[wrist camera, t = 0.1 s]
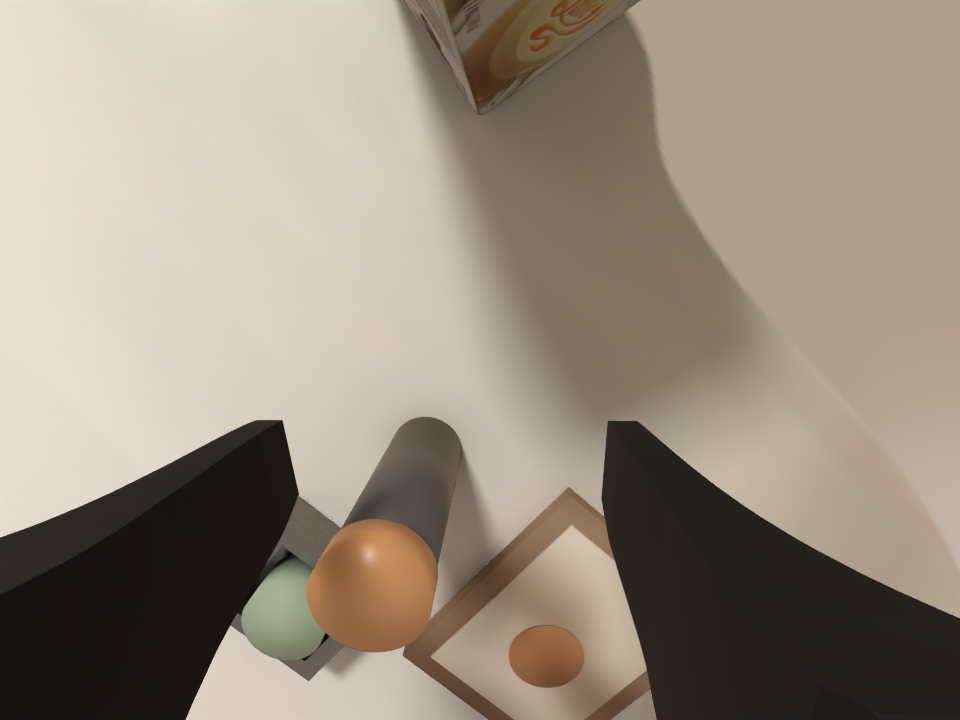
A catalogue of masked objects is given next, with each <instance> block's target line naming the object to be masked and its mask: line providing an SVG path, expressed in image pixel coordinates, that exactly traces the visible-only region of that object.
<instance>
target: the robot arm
mask: <svg viewBox="0 0 960 720" xmlns="http://www.w3.org/2000/svg"><path fill="white" fill-rule="evenodd" d="M298 495H299V493H298V488H297V484H296V479H295V475H294V470H293V466H292V461H291V457H290V452H289V448H288V443H287V439H286V434H285V430H284V425H283V421H282V420H256V421H253V422H251V423H248V424H246V425H244V426H241V427H239V428H237V429H235V430H233V431H231V432H229V433H227V434H225V435H223V436H221V437H219V438H217V439H215V440H214V441H212V442H210V443H208V444H206V445H204V446H202V447H200V448H198V449H196V450H195V451H193V452H191V453H189V454H187V455H185V456H183V457H181V458H179V459H178V460H176V461H174V462H172V463H170V464H168V465H166V466H164V467H162V468H160V469H158V470H156V471H154V472H152V473H150V474H148V475H146V476H144V477H142V478H140V479H138V480H136V481H134V482H132V483H130V484H128V485H126V486H124V487H122V488H120V489H118V490H116V491H114V492H112V493H109V494H107V495H105V496H103V497H101V498H99V499H96V500H94V501H92V502H90V503H87V504H85V505H83V506H80V507H78V508H76V509H73V510H71V511H68V512H66V513H64V514H61V515H59V516H56V517H54V518H52V519H49V520H47V521H44V522H42V523H39V524H37V525H34V526H31V527H29V528H26V529H23V530H20V531H18V532H15V533H12V534H9V535H6V536H4V537H1V538H0V720H186V717H187V715H188V713H189V710H190V708H191V706H192V703H193V701H194V699H195V697H196V694H197V692H198V690H199V688H200V686H201V684H202V681H203V679H204V677H205V675H206V673H207V671H208V668H209V666H210V664H211V662H212V660H213V658H214V655H215V653H216V651H217V649H218V647H219V645H220V643H221V642H222V640H223V638H224V636H225V634H226V632H227V630H228V628H229V627H230V625H231V623H232V622H233V620H234V618H235V616H236V615H237V613H238V611H239V610H240V608H241V606H242V604H243V603H244V601H245V599H246V598H247V596H248V594H249V592H250V591H251V589H252V587H253V586H254V584H255V582H256V580H257V579H258V577H259V575H260V574H261V572H262V570H263V568H264V567H265V565H266V563H267V561H268V560H269V558H270V556H271V554H272V553H273V551H274V549H275V547H276V546H277V544H278V542H279V540H280V538H281V537H282V535H283V533H284V530H285V528H286V526H287V523H288V521H289V519H290V516H291V514H292V511H293V508H294V506H295V503H296V501H297V498H298ZM602 504H603V510H604V516H605V522H606V528H607V533H608V539H609V543H610V546H611V550H612V553H613V556H614V560H615V563H616V566H617V570H618V573H619V576H620V580H621V583H622V586H623V589H624V593H625V596H626V599H627V602H628V606H629V609H630V612H631V615H632V619H633V622H634V625H635V628H636V632H637V635H638V638H639V642H640V645H641V649H642V653H643V657H644V661H645V664H646V669H647V674H648V678H649V683H650V688H651V693H652V698H653V703H654V708H655V713H656V717H657V720H960V618H958V617H955V616H953V615H950V614H948V613H946V612H944V611H941V610H939V609H937V608H935V607H932V606H930V605H928V604H926V603H923V602H921V601H919V600H917V599H914V598H912V597H910V596H908V595H906V594H903V593H901V592H899V591H897V590H894V589H892V588H890V587H888V586H886V585H884V584H882V583H880V582H878V581H876V580H874V579H871V578H869V577H867V576H865V575H863V574H861V573H859V572H857V571H855V570H853V569H852V568H850V567H848V566H846V565H844V564H842V563H840V562H838V561H836V560H834V559H832V558H831V557H829V556H827V555H825V554H823V553H821V552H819V551H817V550H815V549H814V548H812V547H810V546H808V545H806V544H805V543H803V542H801V541H799V540H798V539H796V538H794V537H792V536H791V535H789V534H788V533H786V532H784V531H783V530H781V529H779V528H778V527H776V526H775V525H773V524H771V523H770V522H768V521H766V520H765V519H763V518H762V517H760V516H758V515H757V514H755V513H754V512H752V511H751V510H749V509H748V508H746V507H745V506H743V505H742V504H740V503H739V502H738V501H736V500H735V499H733V498H732V497H731V496H729V495H728V494H727V493H725V492H724V491H722V490H721V489H720V488H718V487H717V486H715V485H714V484H713V483H711V482H710V481H709V480H708V479H706V478H705V477H704V476H702V475H701V474H700V473H699V472H697V471H696V470H695V469H693V468H692V467H691V466H690V465H689V464H687V463H686V462H685V461H684V460H682V459H681V458H680V457H679V456H678V455H676V454H675V453H674V452H673V451H672V450H671V449H669V448H668V447H667V446H666V445H665V444H664V443H662V442H661V441H660V440H659V439H658V438H657V437H655V436H654V435H653V434H652V433H651V432H650V431H648V430H647V429H646V428H645V427H644V426H642V425H641V424H640V423H639V422H637V421H608V426H607V438H606V450H605V462H604V474H603V487H602Z"/></svg>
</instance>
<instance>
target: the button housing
mask: <svg viewBox="0 0 960 720" xmlns="http://www.w3.org/2000/svg"><path fill="white" fill-rule="evenodd" d="M340 530H341V528H340V527H338V526H337V525H336V524H334V523H333V522H332V521H330V520H329V519H328V518H327V517H325V516H324V515H323V514H321V513H320V512H319V511H317V510H316V509H315V508H313V507H312V506H311V505H310V504H308V503H307V502H306V501H304V500H303V499H302V498H300V497H299V498H298V499H297V501H296V503H295V506H294V508H293V511H292V514H291V516H290V519H289V521H288V523H287V526H286V528H285V530H284V533H283V535H282V537H281V538H280V540H279V542H278V544H277V546H276V547H275V549H274V551H273V553H272V554H271V556H270V558H269V560H268V561H267V563H266V565H265V567H264V568H263V570H262V572H261V574H260V575H259V577H258V579H257V580H256V582H255V584H254V586H253V587H252V589H251V591H250V592H249V594H248V596H247V598H246V599H245V601H244V603H243V604H242V606H241V608H240V610H239V611H238V613H237V615H236V616H235V618H234V620H233V622H232V623H231V626H232V627H233V628H235V629H236V630H238V631H239V632H241V633H242V634H243V635H245V633H244V631H243V628H242V622H241V617H242V612H243V609H244V607H245V605H246V604H247V603H248V601H249V600H250V598H251V597H252V596H253V594H254V593H255V591H256V590H257V589H258V587H259V586H260V584H261V583H262V582H263V580H264V579H265V577H266V576H267V575H268V573H269V572H270V570H271V569H272V568H273V566H274V565H275V564H276V563H277V562H278V561H280V560H281V559H283V558H285V557H288V556H291V555H296V556H297V557H298V558H300V559H301V560H302V561H304V562H305V563H306V564H308V565H309V566H310V567H312V568H313V569H314V568H315V566H316V564H317V563H318V561H319V559H320V558H321V556H322V554H323V552H324V551H325V549H326V547H327V546H328V544H329V542H330V541H331V539H332V538H333V537H334V536H335V535H336V534H337V533H338V532H339V531H340ZM343 646H344V645H343V644H341V643H339V642H337V641H336V640H334V639H333V638H331V637H330V636H329V635H328V634H327V633H325V635H324V637H323V639H322V641H321V643H320V645H319V646H318V648H317V649H316V650H315V651H314V652H313V653H312V654H310V655H308V656H306V657H304V658H301V659H297V660H280V659H278V660H280V661H281V662H283V663H284V664H285V665H287V666H288V667H290V668H291V669H292V670H294V671H295V672H297V673H298V674H299V675H301V676H302V677H304V678H305V679H306V680H308V681H309V680H310V679H311V678H312V677H313V676H314V675H315V674H316V673H317V672H318V671H319V670H320V669H321V668H322V667H323V666H324V665H325V664H326V663H327V662H328V661H329V660H330V659H331V658H332V657H333V656H334V655H335V654H336V653H337V652H338V651H339V650H340V649H341V648H342V647H343Z"/></svg>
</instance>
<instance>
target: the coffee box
mask: <svg viewBox="0 0 960 720" xmlns="http://www.w3.org/2000/svg"><path fill="white" fill-rule="evenodd" d="M404 1H405V2H406V4H407V5H408V7H409V8H410V10H411V11H412V13H413V15H414V16H415V18H416V19H417V21H418V23H419V24H420V26H421V27H422V29H423V31H424V32H425V34H426V35H427V37H428V39H429V40H430V42H431V43H432V45H433V47H434V48H435V50H436V51H437V53H438V55H439V56H440V58H441V59H442V61H443V62H444V64H445V66H446V67H447V69H448V70H449V72H450V74H451V75H452V77H453V78H454V80H455V81H456V83H457V84H458V86H459V88H460V89H461V91H462V92H463V94H464V95H465V97H466V99H467V100H468V102H469V103H470V105H471V106H472V108H473V109H474V111H475V112H476V113H477V114H480V115H481V114H484V113H486V112H487V111H489V110H491V109H492V108H493V107H495V106H496V105H498V104H499V103H501V102H502V101H503V100H505V99H506V98H508V97H509V96H510V95H512V94H513V93H515V92H516V91H517V90H519V89H520V88H521V87H523V86H524V85H525V84H527V83H528V82H530V81H531V80H532V79H534V78H535V77H536V76H538V75H539V74H540V73H542V72H543V71H545V70H546V69H547V68H549V67H550V66H551V65H553V64H554V63H556V62H557V61H558V60H560V59H561V58H563V57H564V56H565V55H567V54H568V53H569V52H571V51H572V50H573V49H575V48H576V47H577V46H579V45H580V44H582V43H583V42H584V41H586V40H587V39H588V38H590V37H591V36H592V35H594V34H595V33H597V32H598V31H599V30H601V29H602V28H603V27H605V26H606V25H607V24H609V23H610V22H612V21H613V20H614V19H616V18H617V17H618V16H620V15H621V14H622V13H624V12H625V11H627V10H628V9H629V8H631V7H632V6H633V5H635V4H636V3H637V2H639V1H640V0H404Z"/></svg>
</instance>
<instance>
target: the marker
mask: <svg viewBox="0 0 960 720" xmlns="http://www.w3.org/2000/svg"><path fill="white" fill-rule="evenodd" d="M461 454H462V448H461V443H460V440H459V438H458V436H457V434H456V432H455V431H454V430H453V429H452V428H451V427H450V426H449V425H448V424H446V423H445V422H443V421H441V420H438V419H435V418H430V417H420V418H415V419H412V420H410V421H408V422H406V423H405V424H403V425H402V426H401V427H400V428H399V430H398V431H397V432H396V434H395V436H394V438H393V439H392V441H391V443H390V445H389V446H388V448H387V450H386V452H385V453H384V455H383V457H382V459H381V460H380V462H379V464H378V466H377V467H376V469H375V471H374V473H373V474H372V476H371V478H370V480H369V481H368V483H367V485H366V486H365V488H364V490H363V492H362V493H361V495H360V497H359V499H358V500H357V502H356V504H355V506H354V507H353V509H352V511H351V513H350V514H349V516H348V518H347V520H346V521H345V523H344V525H343V527H342V528H341V530H340V531H339V532H338V533H337V534H336V535H335V536H334V537H333V538H332V539H331V541H330V542H329V544H328V546H327V547H326V549H325V551H324V552H323V554H322V556H321V558H320V559H319V561H318V563H317V564H316V566H315V568H314V570H313V571H312V573H311V575H310V578H309V581H308V586H307V600H308V605H309V608H310V611H311V613H312V616H313V617H314V619H315V621H316V622H317V623H318V625H319V626H320V627H321V628H322V629H323V631H324V632H325V633H327V634H328V635H329V636H330V637H331V638H333V639H334V640H336V641H337V642H339V643H341V644H343V645H345V646H348V647H350V648H353V649H356V650H360V651H366V652H386V651H391V650H395V649H398V648H401V647H403V646H405V645H407V644H409V643H410V642H412V641H413V640H414V639H416V638H417V637H418V636H419V635H420V634H421V632H422V631H423V630H424V628H425V627H426V625H427V623H428V621H429V618H430V614H431V610H432V605H433V600H434V596H435V591H436V586H437V580H438V567H437V565H438V561H439V556H440V551H441V547H442V542H443V538H444V533H445V529H446V524H447V519H448V515H449V510H450V506H451V501H452V497H453V492H454V487H455V483H456V478H457V474H458V469H459V465H460V460H461Z"/></svg>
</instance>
